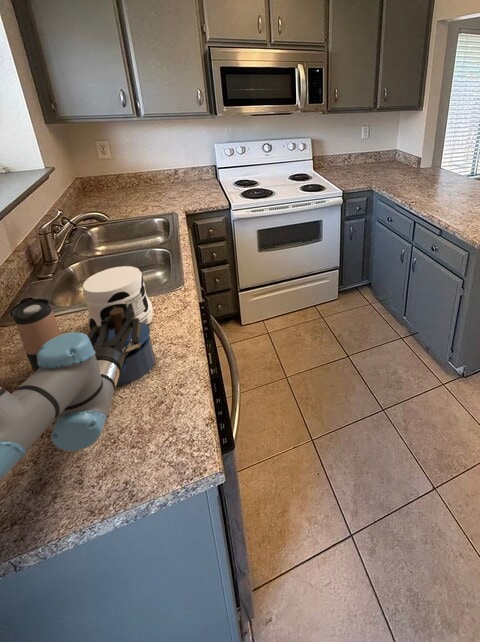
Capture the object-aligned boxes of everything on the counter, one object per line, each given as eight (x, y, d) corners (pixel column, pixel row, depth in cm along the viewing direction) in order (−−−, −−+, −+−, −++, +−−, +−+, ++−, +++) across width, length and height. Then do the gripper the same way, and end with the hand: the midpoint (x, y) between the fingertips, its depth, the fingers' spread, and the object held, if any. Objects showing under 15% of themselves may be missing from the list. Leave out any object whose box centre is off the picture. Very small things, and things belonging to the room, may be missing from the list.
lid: (89, 363, 85) (79, 332, 82) (103, 331, 97) (95, 302, 93) (146, 351, 89) (139, 320, 86) (153, 321, 100) (147, 293, 97)
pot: (97, 400, 86) (89, 374, 84) (113, 352, 102) (107, 328, 99) (150, 387, 90) (144, 362, 87) (158, 343, 105) (153, 320, 102)
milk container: (102, 317, 117) (89, 269, 111) (158, 308, 121) (149, 261, 115) (84, 353, 101) (68, 299, 95) (150, 341, 106) (138, 288, 100)
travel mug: (59, 356, 100) (39, 295, 94) (76, 365, 97) (56, 302, 90) (28, 375, 94) (4, 311, 87) (45, 385, 91) (21, 319, 84)
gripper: (60, 396, 73) (93, 327, 95) (145, 377, 78) (158, 315, 99) (50, 368, 71) (86, 303, 92) (138, 349, 75) (153, 291, 96)
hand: (123, 309), depth 95 cm, fingers closed on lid, 3 cm apart
